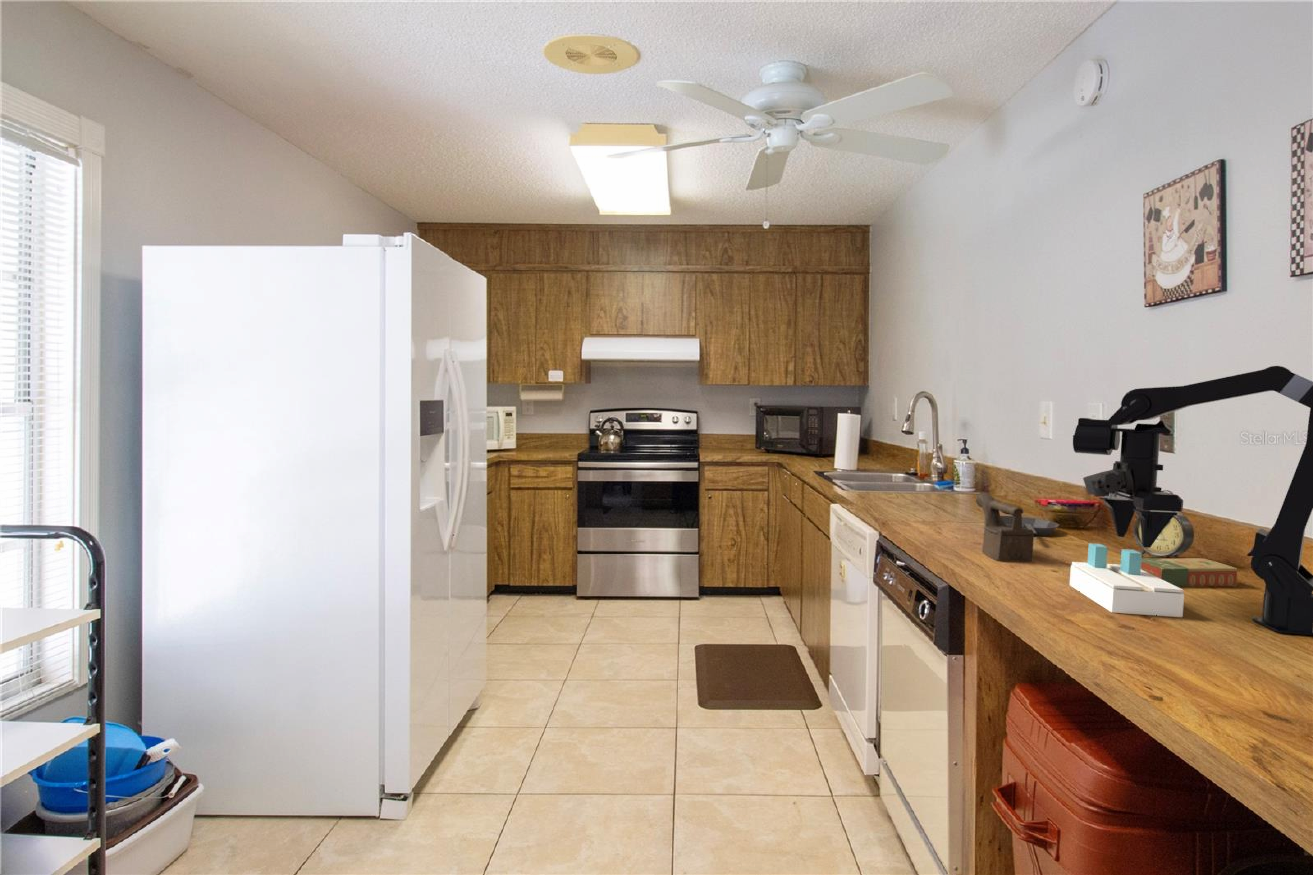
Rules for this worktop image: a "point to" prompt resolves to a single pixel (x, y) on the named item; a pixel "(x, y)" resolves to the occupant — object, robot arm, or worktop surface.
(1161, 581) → the flap
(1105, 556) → the flap
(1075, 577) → the carton box
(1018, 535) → the clothes iron
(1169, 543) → the alarm clock
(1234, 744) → the worktop surface
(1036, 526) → the frying pan
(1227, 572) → the carton
